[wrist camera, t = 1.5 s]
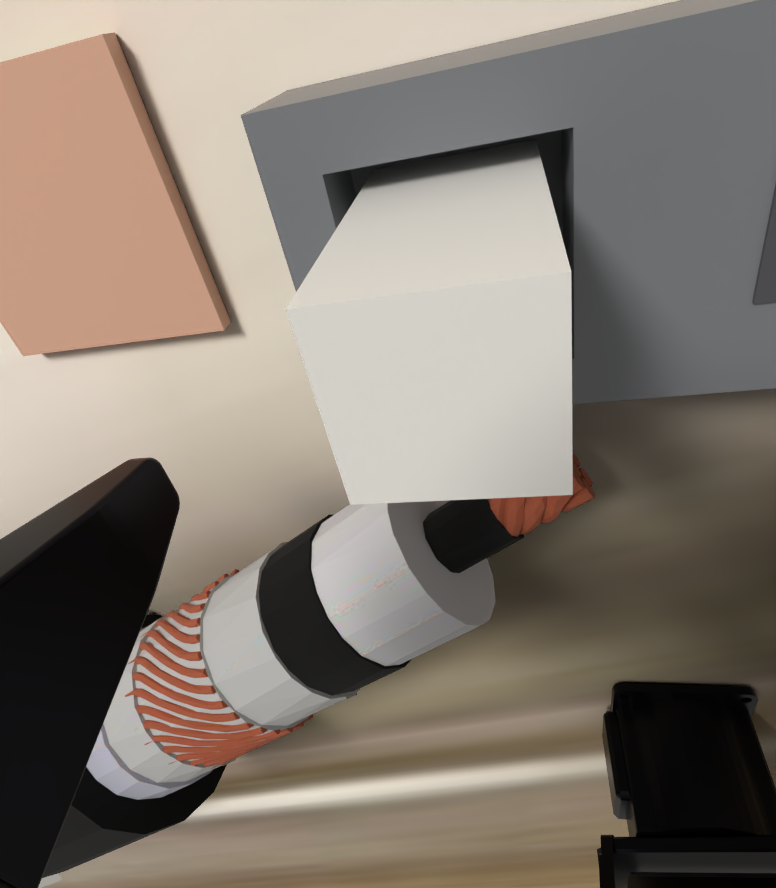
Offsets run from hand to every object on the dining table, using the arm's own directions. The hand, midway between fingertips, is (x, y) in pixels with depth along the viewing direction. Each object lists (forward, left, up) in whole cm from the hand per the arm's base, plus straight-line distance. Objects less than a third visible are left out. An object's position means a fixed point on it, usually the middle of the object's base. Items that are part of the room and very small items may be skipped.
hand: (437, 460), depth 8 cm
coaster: (+12, -2, -10) cm, 16 cm away
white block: (0, 0, -9) cm, 9 cm away
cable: (+12, +16, -11) cm, 23 cm away
